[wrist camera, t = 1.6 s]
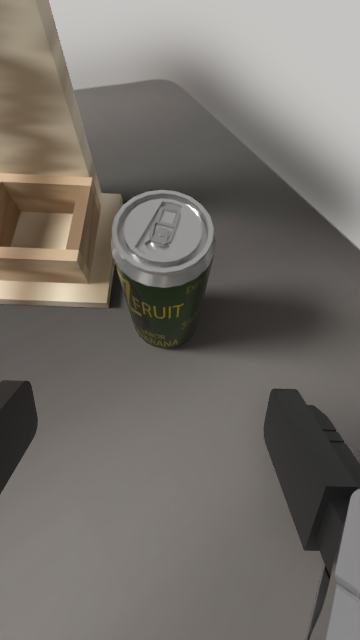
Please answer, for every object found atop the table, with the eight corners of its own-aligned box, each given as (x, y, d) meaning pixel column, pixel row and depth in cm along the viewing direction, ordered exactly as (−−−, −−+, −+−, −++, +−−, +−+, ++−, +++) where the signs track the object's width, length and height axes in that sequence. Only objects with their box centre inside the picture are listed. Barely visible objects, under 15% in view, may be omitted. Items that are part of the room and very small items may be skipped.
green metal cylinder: (145, 286, 26) (128, 176, 15) (203, 301, 26) (228, 200, 15) (125, 341, 24) (89, 260, 13) (187, 358, 24) (203, 289, 13)
